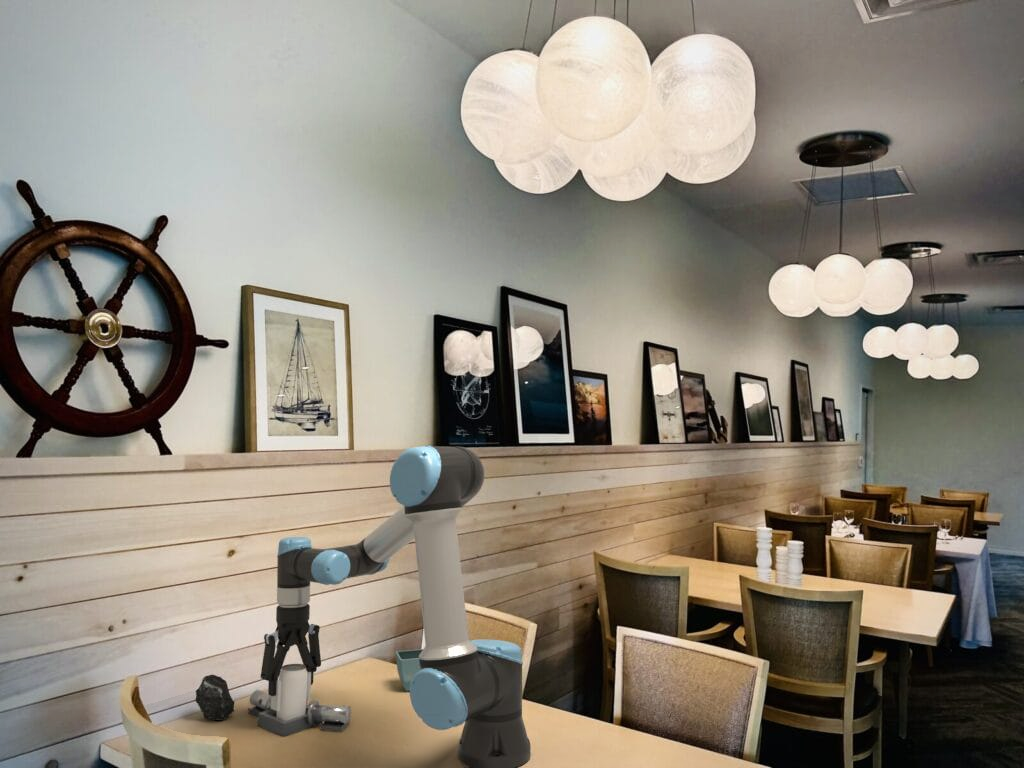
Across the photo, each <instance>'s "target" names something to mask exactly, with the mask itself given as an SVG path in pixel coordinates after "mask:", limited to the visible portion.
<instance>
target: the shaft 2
mask: <svg viewBox="0 0 1024 768" xmlns="http://www.w3.org/2000/svg"><path fill="white" fill-rule="evenodd" d="M308 706H309V707H308V711H307V722H308V724H309V725H315V721H318V722H323V723H322V724H320V731H321V732H332V733H333V732H335V733H336V732H337V733H342V732H343V731H344V730H346V728H347V727H349V726H350V725H351V724H350V723H351V722H350V721H351V719H350V718H351V716H352V715H351V714H352V709H351V706H350V705H338V704H337V705H335V704H334V705H333V704H332V705H331V704H320V702H319V701H318V700H315V699H314V700H311V701H310V703H309V705H308Z"/></svg>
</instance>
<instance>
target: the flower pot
mask: <svg viewBox="0 0 1024 768" xmlns="http://www.w3.org/2000/svg"><path fill="white" fill-rule="evenodd" d="M423 649H424V648H420V649H410V650H398V651H395V657H396V658H395V659H396V668H397V669H396V671H397V674H398V677H399V680H400V683H401V684H402V686H403V689H404V690H405V692H410V684H411V681H412V680H413V677H414V675H415V674H416V673H417V672H418V671H420V664H419V655H420V653H421V652H422V651H423Z"/></svg>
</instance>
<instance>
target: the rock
mask: <svg viewBox="0 0 1024 768" xmlns="http://www.w3.org/2000/svg"><path fill="white" fill-rule="evenodd" d="M195 695H196V696H195V702H196V704H197V705H198V707H199V708H200V712H202V715H203V717H204V718H205V719H209V718H210V719H211V720H213V721H216V720H217V721H222V720H225V718H227V717H229V716H230V715H232V714H233V713H234V712H235V700H233V698H232V696H231V693H230V689H229V687H228V683H227V680H225V679H223V677H221V676H218V675H216V674H209V675H206V676H204V677H202V679H201V683H200V685H199V687H198V688H197V689H196V690H195Z"/></svg>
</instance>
